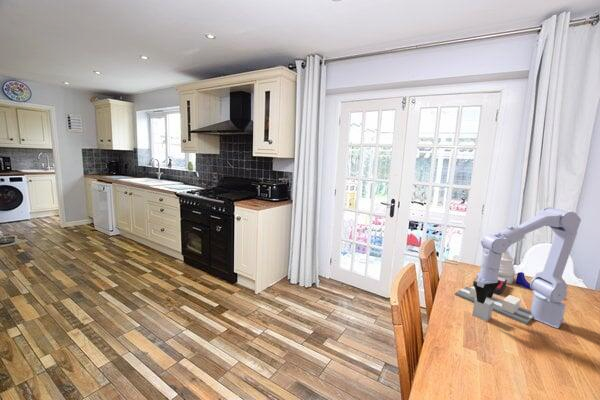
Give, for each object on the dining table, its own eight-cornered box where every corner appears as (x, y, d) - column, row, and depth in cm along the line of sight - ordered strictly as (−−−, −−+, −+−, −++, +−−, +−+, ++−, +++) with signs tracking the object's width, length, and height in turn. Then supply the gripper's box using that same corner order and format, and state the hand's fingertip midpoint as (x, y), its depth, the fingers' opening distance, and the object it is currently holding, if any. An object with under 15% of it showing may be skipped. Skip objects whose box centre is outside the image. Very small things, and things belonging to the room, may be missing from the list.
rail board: (535, 315, 109) (536, 312, 109) (526, 324, 102) (527, 322, 102) (466, 288, 129) (466, 285, 129) (454, 294, 122) (455, 292, 122)
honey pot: (499, 284, 136) (505, 250, 133) (477, 273, 148) (483, 241, 146) (519, 283, 139) (526, 249, 136) (497, 272, 151) (502, 241, 148)
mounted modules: (519, 307, 111) (521, 299, 111) (513, 313, 107) (514, 304, 106) (476, 291, 124) (477, 283, 123) (469, 296, 119) (470, 287, 119)
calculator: (473, 280, 131) (481, 270, 141) (472, 288, 132) (480, 278, 142) (500, 288, 123) (507, 278, 134) (499, 297, 124) (505, 286, 134)
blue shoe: (549, 293, 129) (551, 281, 128) (544, 295, 127) (546, 283, 126) (520, 282, 140) (522, 271, 139) (515, 283, 138) (517, 272, 137)
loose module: (491, 318, 105) (494, 301, 104) (486, 321, 103) (489, 304, 101) (476, 311, 109) (479, 295, 108) (472, 315, 107) (474, 298, 105)
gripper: (485, 259, 110) (480, 290, 112) (470, 266, 101) (465, 300, 104) (506, 265, 104) (500, 298, 107) (492, 273, 96) (486, 308, 98)
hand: (484, 299), depth 105 cm, fingers open, 7 cm apart
